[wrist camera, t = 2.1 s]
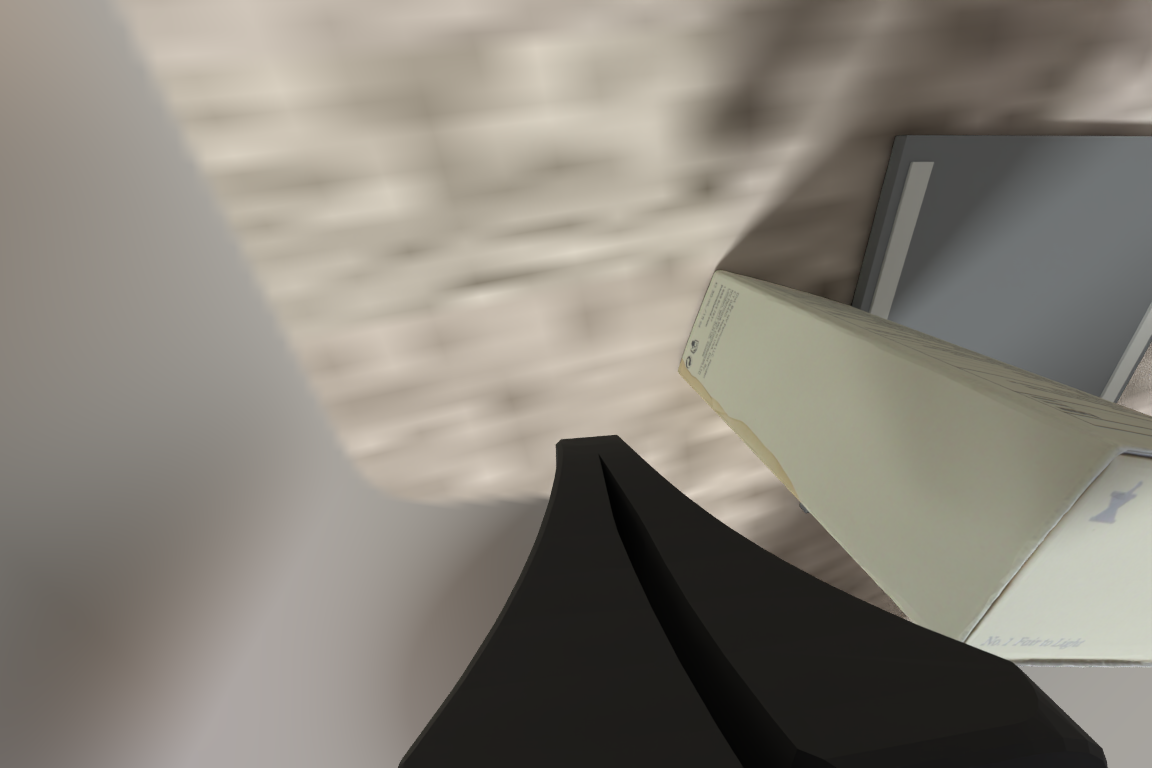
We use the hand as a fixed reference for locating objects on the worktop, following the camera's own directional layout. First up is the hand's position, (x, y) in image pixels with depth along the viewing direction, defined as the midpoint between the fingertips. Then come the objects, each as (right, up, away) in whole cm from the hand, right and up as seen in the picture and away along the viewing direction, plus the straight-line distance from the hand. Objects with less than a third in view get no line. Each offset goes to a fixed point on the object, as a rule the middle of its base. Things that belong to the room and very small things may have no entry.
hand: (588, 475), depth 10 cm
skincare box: (+7, +4, +8) cm, 12 cm away
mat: (+18, +4, +10) cm, 21 cm away
